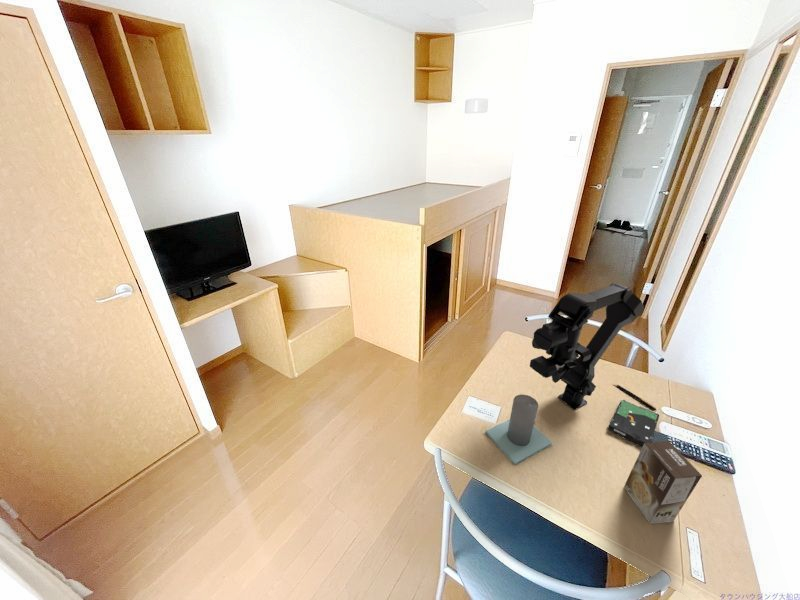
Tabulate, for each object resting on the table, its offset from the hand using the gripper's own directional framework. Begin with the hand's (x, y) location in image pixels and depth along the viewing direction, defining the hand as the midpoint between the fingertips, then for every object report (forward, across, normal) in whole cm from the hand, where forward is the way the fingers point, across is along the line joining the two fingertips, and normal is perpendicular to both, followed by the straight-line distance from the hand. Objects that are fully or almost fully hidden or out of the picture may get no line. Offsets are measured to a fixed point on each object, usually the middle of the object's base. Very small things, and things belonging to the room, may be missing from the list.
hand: (554, 381), depth 97 cm
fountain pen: (+13, -32, +8) cm, 35 cm away
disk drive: (+14, -20, +15) cm, 28 cm away
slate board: (+13, +15, +3) cm, 20 cm away
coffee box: (+13, +1, +31) cm, 34 cm away
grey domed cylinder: (+12, +15, +3) cm, 19 cm away
